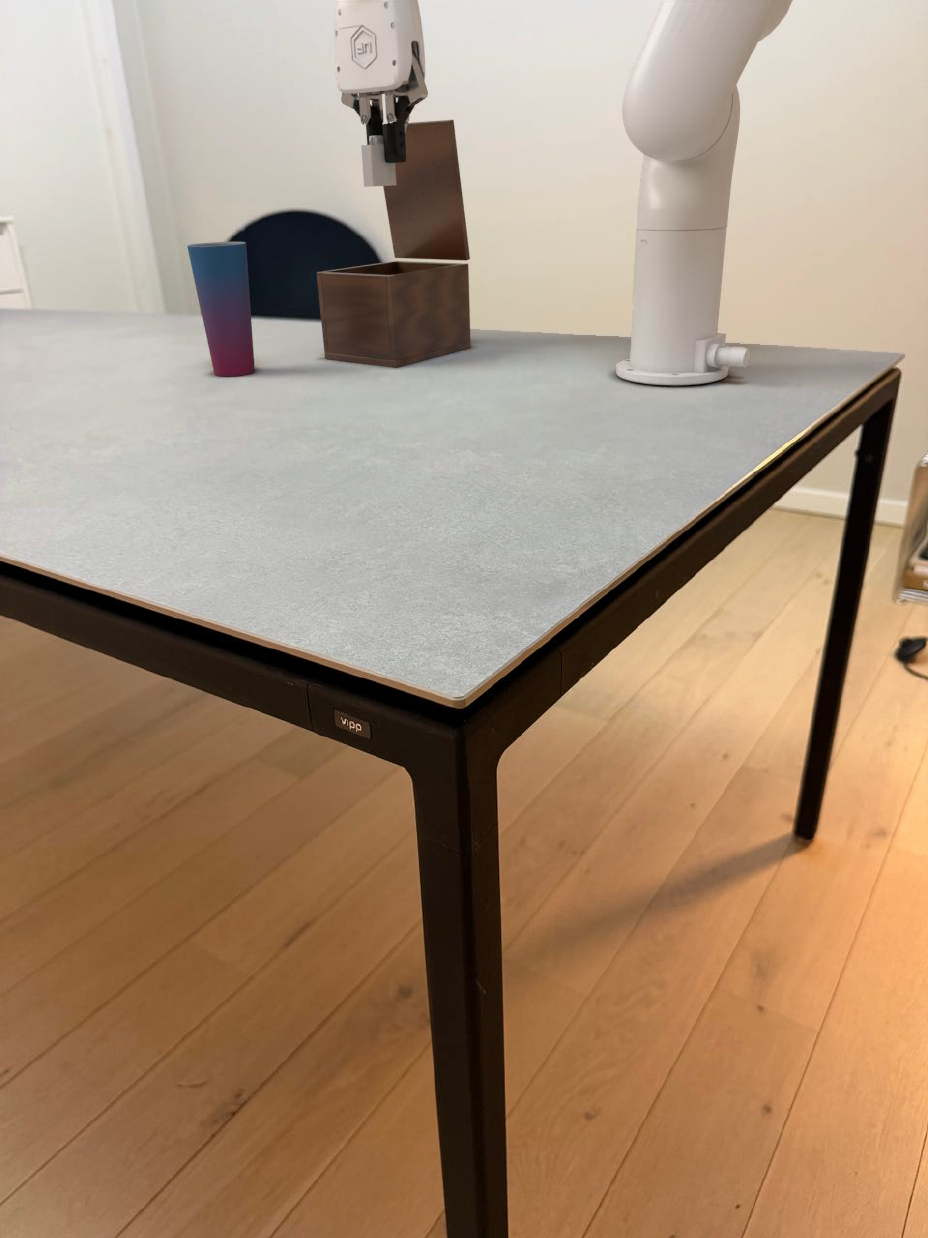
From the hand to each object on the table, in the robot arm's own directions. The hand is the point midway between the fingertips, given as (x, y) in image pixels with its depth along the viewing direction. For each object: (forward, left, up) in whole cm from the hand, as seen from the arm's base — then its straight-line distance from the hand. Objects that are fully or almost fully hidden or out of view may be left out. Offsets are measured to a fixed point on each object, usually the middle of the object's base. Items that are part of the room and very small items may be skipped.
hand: (387, 161), depth 108 cm
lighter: (0, 0, -3) cm, 3 cm away
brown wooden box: (+4, -5, -23) cm, 24 cm away
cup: (+14, +15, -23) cm, 31 cm away
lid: (+4, -11, -4) cm, 12 cm away
